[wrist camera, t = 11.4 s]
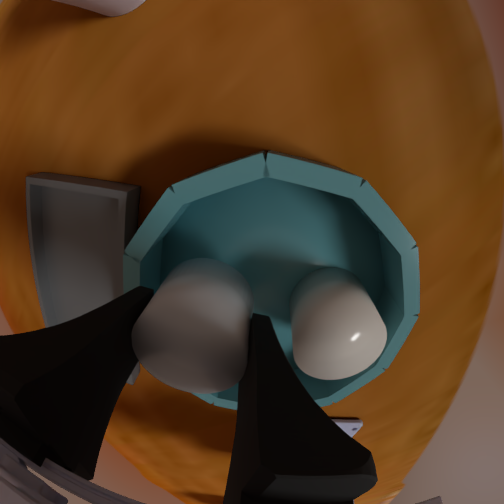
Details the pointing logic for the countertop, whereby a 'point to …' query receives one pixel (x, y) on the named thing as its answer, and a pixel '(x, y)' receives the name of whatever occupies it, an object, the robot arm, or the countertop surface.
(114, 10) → the smoothie
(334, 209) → the bowl
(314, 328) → the pale stone
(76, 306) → the parts tray
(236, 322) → the white pebble
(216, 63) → the countertop surface
